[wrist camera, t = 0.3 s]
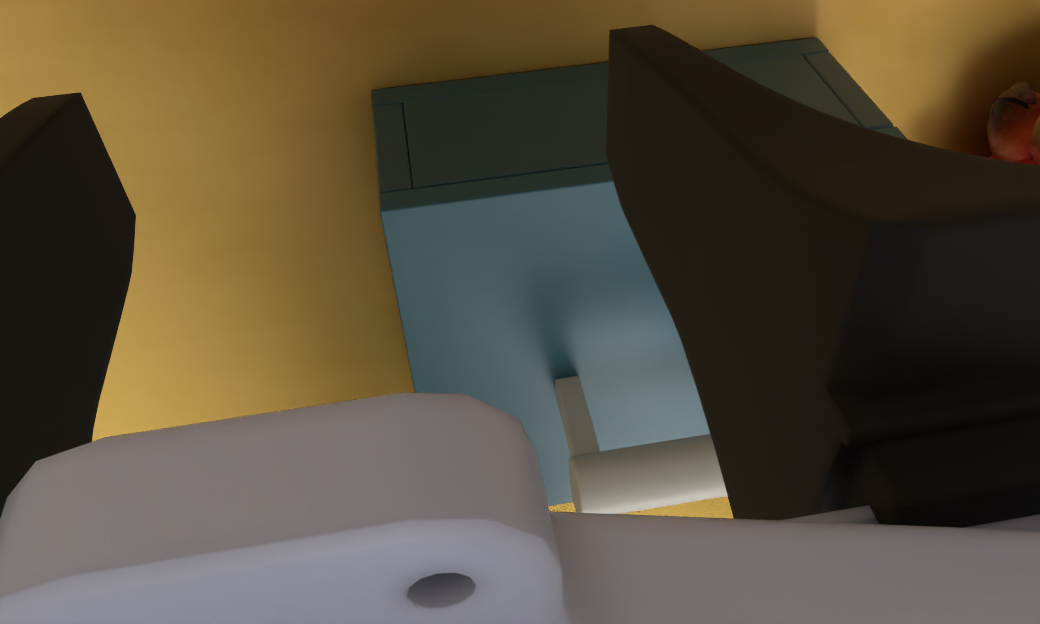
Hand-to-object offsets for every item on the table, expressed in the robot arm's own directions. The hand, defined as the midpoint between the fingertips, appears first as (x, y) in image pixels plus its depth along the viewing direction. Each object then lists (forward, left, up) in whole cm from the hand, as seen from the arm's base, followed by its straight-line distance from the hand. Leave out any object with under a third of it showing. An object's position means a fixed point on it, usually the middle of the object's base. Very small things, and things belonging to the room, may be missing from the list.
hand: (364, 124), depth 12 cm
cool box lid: (-11, -6, -5) cm, 14 cm away
